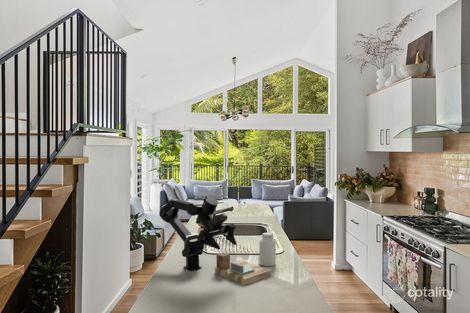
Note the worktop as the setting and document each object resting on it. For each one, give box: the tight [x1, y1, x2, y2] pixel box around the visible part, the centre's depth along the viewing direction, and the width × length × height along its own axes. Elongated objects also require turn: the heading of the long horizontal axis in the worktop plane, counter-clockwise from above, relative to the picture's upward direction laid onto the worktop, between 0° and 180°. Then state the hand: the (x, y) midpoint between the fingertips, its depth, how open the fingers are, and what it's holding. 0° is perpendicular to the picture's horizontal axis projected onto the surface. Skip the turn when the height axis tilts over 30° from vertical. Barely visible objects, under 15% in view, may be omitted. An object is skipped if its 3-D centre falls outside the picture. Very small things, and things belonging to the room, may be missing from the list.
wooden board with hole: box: [214, 259, 272, 286], centre depth 165 cm, size 20×16×2 cm
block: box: [215, 252, 231, 269], centre depth 167 cm, size 4×4×6 cm
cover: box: [230, 261, 255, 275], centre depth 162 cm, size 8×8×3 cm
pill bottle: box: [259, 232, 277, 267], centre depth 179 cm, size 8×8×15 cm
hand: (227, 246), depth 155 cm, fingers open, 9 cm apart
